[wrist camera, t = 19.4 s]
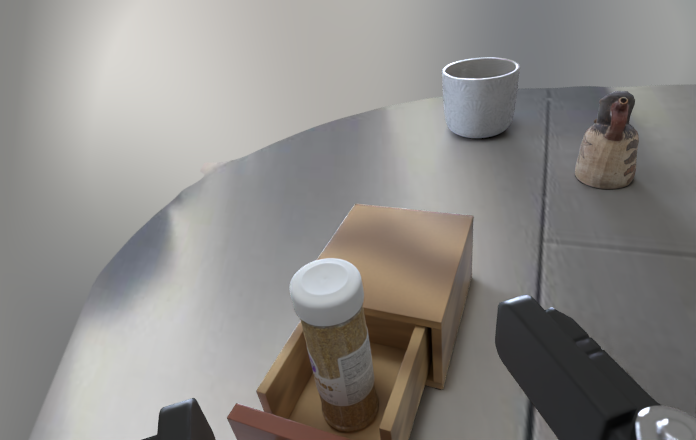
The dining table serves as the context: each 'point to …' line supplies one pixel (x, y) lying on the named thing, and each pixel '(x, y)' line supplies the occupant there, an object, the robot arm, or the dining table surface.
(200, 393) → the dining table surface
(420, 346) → the drawer
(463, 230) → the cabinet
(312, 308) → the sprinkles bottle
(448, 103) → the planter
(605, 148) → the figurine
